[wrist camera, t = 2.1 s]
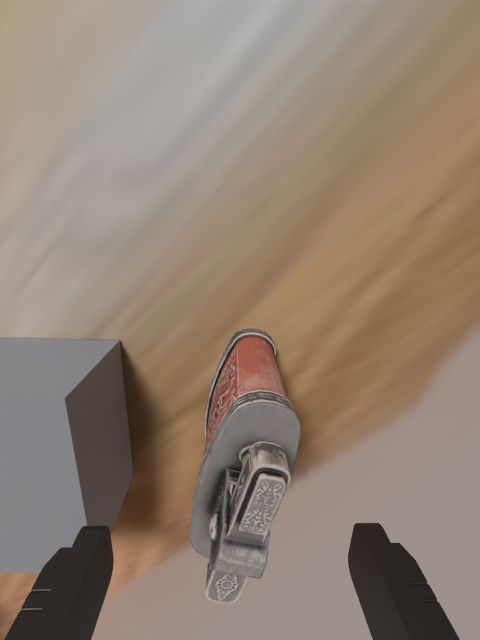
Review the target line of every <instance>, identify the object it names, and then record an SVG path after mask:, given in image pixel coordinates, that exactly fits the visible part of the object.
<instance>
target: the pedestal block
mask: <svg viewBox="0 0 480 640" xmlns="http://www.w3.org/2000/svg"><path fill="white" fill-rule="evenodd" d="M133 476H134V473H133V464H132V454H131V444H130V434H129V425H128V415H127V405H126V396H125V386H124V376H123V366H122V357H121V347H120V340H91V339H44V338H0V573H40V572H41V570H42V569H43V567H44V565H45V564H46V563H47V562H48V561H49V560H50V559H51V558H52V557H53V555H54V554H55V553H56V552H57V551H58V550H59V549H60V548H61V547H72V545H73V543H74V541H75V539H76V537H77V535H78V533H79V531H80V529H81V528H82V527H83V526H109V529H110V534H111V532H112V529H113V527H114V524H115V521H116V519H117V516H118V514H119V511H120V509H121V506H122V504H123V501H124V499H125V496H126V493H127V491H128V488H129V486H130V483H131V481H132V478H133Z"/></svg>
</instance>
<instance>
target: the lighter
mask: <svg viewBox="0 0 480 640" xmlns="http://www.w3.org/2000/svg"><path fill="white" fill-rule="evenodd" d="M275 358H276V349H275V345H274V342H273V340H272V338H271V336H270V335H268V334H267V333H266V332H265V331H263V330H260V329H258V328H245V329H241V330H240V331H238V332H236V333H235V334H234V336H233V337H232V338H231V340H230V342H229V344H228V346H227V348H226V350H225V351H224V353H223V355H222V357H221V359H220V362H219V364H218V367H217V369H216V372H215V374H214V377H213V380H212V384H211V388H210V393H209V398H208V402H207V409H206V421H205V436H206V443H205V451H204V459H203V461H202V464H201V467H200V471H199V476H198V480H197V485H196V489H195V494H194V500H193V507H192V516H191V533H190V541H191V545H192V547H193V548H194V549H195V551H196V552H197V553H199V554H201V555H202V556H204V557H207V558H209V560H208V567H207V580H206V581H207V582H206V597H207V599H209V600H210V601H214V602H218V603H233V602H235V601H236V600H238V598H239V597H240V595H241V592H242V590H243V587H244V586H245V583H246V581H247V579H248V577H253V578H261V576H262V574H263V572H264V570H265V568H266V563H267V557H268V544H269V537H270V527H271V524H272V522H273V520H274V518H275V515H276V513H277V511H278V509H279V506H280V504H281V502H282V500H283V497H284V495H285V493H286V491H287V488H288V486H289V483H290V480H291V474H292V471H293V468H294V464H295V459H296V454H297V449H298V443H299V438H300V433H301V431H300V422H299V419H298V416H297V412H296V410H295V408H294V406H293V405H292V403H291V402H290V401H289V400H288V399H287V397H286V394H285V390H284V387H283V384H282V380H281V377H280V374H279V370H278V367H277V364H276V360H275Z"/></svg>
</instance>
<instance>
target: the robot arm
mask: <svg viewBox="0 0 480 640" xmlns="http://www.w3.org/2000/svg"><path fill="white" fill-rule="evenodd" d="M348 564H349V570H350V574H351V578H352V581H353V584H354V587H355V590H356V592H357V595H358V598H359V601H360V604H361V607H362V610H363V613H364V615H365V618H366V621H367V624H368V627H369V630H370V633H371V636H372V638H373V640H459V638H458V636H457V634H456V632H455V630H454V629H453V627H452V625H451V623H450V622H449V620H448V618H447V616H446V614H445V612H444V611H443V609H442V607H441V605H440V603H438V602H437V598H436V596H435V594H434V593H433V591H432V589H431V588H430V585H428V584H427V580H426V578H425V577H424V575H423V573H422V571H421V569H420V568H419V566H418V564H417V562H416V560H415V559H414V558H413V557H412V556H411V555H410V554H409V553H408V552H407V551H406V550H405V548H403V546H402V545H401V544H400V543H390V541H389V539H388V537H387V535H386V533H385V531H384V529H383V528H382V526H381V525H380V524H379V523H356V524H355V525H354V529H353V534H352V538H351V543H350V548H349V553H348ZM112 570H113V551H112V543H111V536H110V529H109V526H83V527H82V528H81V529H80V531H79V533H78V535H77V537H76V539H75V541H74V543H73V545H72V547H61V548H60V549H59V550H58V551H57V552H56V553H55V554H54V555H53V557H52V558H51V559H50V560H49V561H48V562H47V563H46V564H45V565H44V567H43V569H42V570H41V572H40V574H39V576H38V578H37V580H36V582H35V583H34V585H33V587H32V591H31V593H29V595H28V597H27V598H26V600H25V602H24V604H23V606H22V609H21V612H19V613H18V615H17V617H16V619H15V621H14V623H13V624H12V626H11V628H10V630H9V632H8V634H7V636H6V638H5V639H4V640H91V638H92V635H93V632H94V629H95V625H96V623H97V620H98V617H99V613H100V611H101V608H102V605H103V602H104V598H105V595H106V592H107V589H108V586H109V583H110V580H111V576H112Z"/></svg>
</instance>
